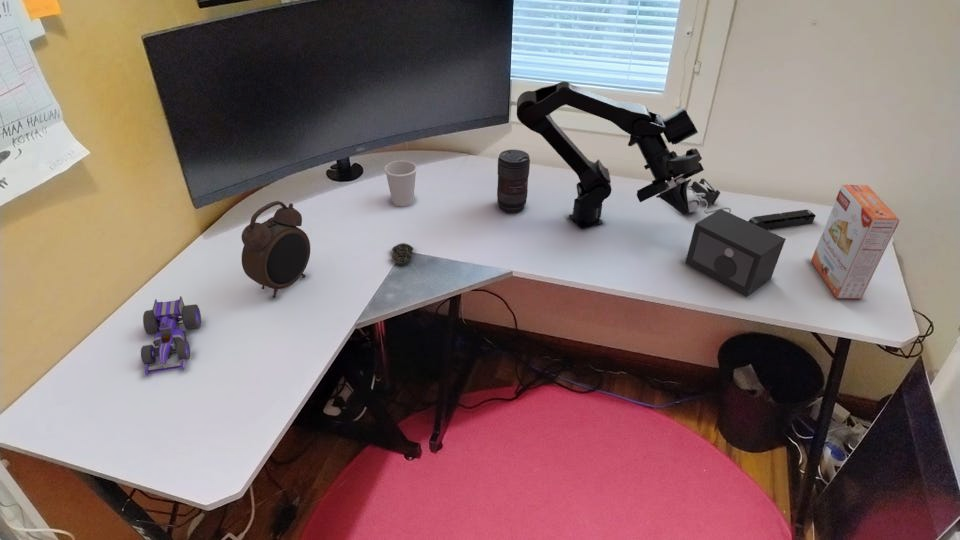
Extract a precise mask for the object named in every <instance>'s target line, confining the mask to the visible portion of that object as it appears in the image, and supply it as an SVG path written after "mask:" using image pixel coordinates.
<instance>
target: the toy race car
mask: <svg viewBox="0 0 960 540" xmlns="http://www.w3.org/2000/svg"><path fill="white" fill-rule="evenodd" d="M201 315H202V314H201V310H200V307H199V305H198V304H186V305H185V302H184V300H183V297H182V295H180V296H179V299H176V300H169V301H158V299H157V298H156V299H154V303H153V306H152V309H148V310H145V311H144V312H143V315H142V324H143V329H144V332H145V333H146V334H147V335H148V336H150V335H151V336H152V335H154V337H153V341H152V343H153V344H147V345H146V344H145V345H143V346H142V347H141V349H140V359H141V362H142V364H143V365H144V366H145V367H144V374H145V376H149V373H154V372H163V371H169V370H176V369H181V370H182V371H184V370H186V369H185V368H186V364H187V363H186V362H187V361H186V360H189V359H190V356H191V347H190V343H189V341H188V338H187V333H186V331H184V330H183V329H182V328H180V325H182V324H183V326H184V328H185V329H186V330H188V331H189V330H197V329H200V328H201V325H202V316H201ZM181 321H182V322H181ZM175 354H176V356H177V358H178V360H179V362H175V363H170V364H167V361H168V360H169V359H170V358H171V356H172V355H175ZM157 357H158V359H159V365H156V366H155V365H154V364H155V363H156V359H157ZM151 365H154V366H151Z"/></svg>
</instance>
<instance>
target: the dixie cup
mask: <svg viewBox="0 0 960 540" xmlns="http://www.w3.org/2000/svg"><path fill="white" fill-rule="evenodd" d="M417 169H418V167H417V165H416V164H415V163H414V162H412V161H410V160H401V159H400V160H394V161H391V162H389V163H387V164H386V165H385V166H384V173H385V175H386V180H387V185H388V188H389V193H390V197H391V202H392V204H393V205H394V206H396V207H408V206H411V205H412V204H413V203H414V200H415V188H416V175H417Z"/></svg>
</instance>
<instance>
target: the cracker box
mask: <svg viewBox="0 0 960 540" xmlns="http://www.w3.org/2000/svg"><path fill="white" fill-rule="evenodd" d="M839 188H840V189H839V191H838V193H837V196H836V198H835V201H834V203H833V206H832V208H831V211H830V213H829V216H828V218H827V221H826V223H825V225H824V228H823V229H822V233H821V235H820V237H819V240H818V242H817V245H816V247H815V249H814V252H813V255H812V257H811V259H810V262H811V263H812V265H813V266H814V268H815V269H816V271H817V272H818V274H819V275H820V277H821V278H822V280H823V281H824V283H825V284H826V286H827V288H828V289H829V290H830V292H831V293H832V295H833V296H834V298H835V299H843V300H844V299H850V300H852V299H853V300H861V299H863V296H864V294H865V292H866V290H867V288H868V286H869V284H870V282H871V280H872V278H873V276H874V274H875V272H876V269H877V268H878V266H879V264H880V262H881V260H882V257H883V255H884V253H885V251H886V250H887V248H888V245H889V243H890V242H891V239H892V238H893V235H894V233H895V231H896V229H897V228H898V225H899V223H900V221H901V219H900V218H899V217H898V216H897V214H896V213H895V212H894V211H892V209H891V208H890V207H889V206H888V205H887V204H886V203H885V202H884V201H883V200H882V198H880V197H879V196H878V195H877V194H876V193H875V191H874V190H873V189H871V187H870V186H869V185H868V184H841V186H840V187H839Z"/></svg>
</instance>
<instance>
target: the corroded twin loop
mask: <svg viewBox="0 0 960 540" xmlns="http://www.w3.org/2000/svg"><path fill="white" fill-rule="evenodd" d="M391 251H392V252H393V254H392V255H391V259H392V260H393V261H394V263H396V264H398V265H405V264H407V263H409V262H410V261H411V260H412V258H413V255H412V252H413V251H414V247H413V246H412V245H410V244H408V243H404V242H402V243H398V244H396V245H394V246H393V247H392V248H391Z"/></svg>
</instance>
